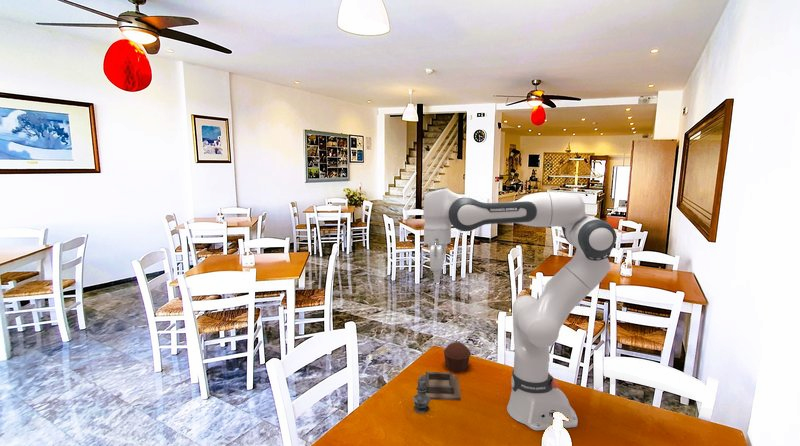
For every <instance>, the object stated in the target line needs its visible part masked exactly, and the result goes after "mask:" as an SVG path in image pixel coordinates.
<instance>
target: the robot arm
mask: <svg viewBox="0 0 800 446" xmlns="http://www.w3.org/2000/svg"><path fill="white" fill-rule="evenodd" d="M423 198H424V199H423V218H424V226H423V244H426V245H427V248H428V249H429V268H430V271H432V273H433V279H434V280H433V282H434V284H439V283H440V282H441V277H442V275H443V274H442V271H443V267H444V262H445V258H446V249H448V245H449V244H451V243H452V227H453V228H455V229H456V230H458V231H460V232H470V231H474V230H477V229H478V228H480V227H482V226H484V225H492V224H494V225H495V224H496V225H497V224H520V225H523V226H527V227H528V226H529V227H535V228H550V227H552V228H553V227H554V228H555V227H560V228H561V231H562V234H563V236H564V239H565V240H566V241H567V243H568V244H570V245H572V246H573V247H574V248H576V249H575V253H574V255H573V256H572V258H571V260H569V261H567V263H566V264H564V266H562V267H561V268H560V270H559V271H557V272H556V273H555V274H554V275H553V276H552V277H551V278H549V280H547V282H546V284H545V286H544V289H543V290H542V293H541V294H540V296H539V297H538V298H536V297H535V296H532V295H527V294H526V295H521V296H519V297H517V298H516V299H515V300H514V301H513V304H512V328H513V329H512V330H513V345H514V358H513V359H514V360H513V369H512V371H511V372H512V373H511V383H510V384H511V392H510V397H509V399H508V400H509V401H508V404H507V406H506V410H507V413H508V415H509V416H510V417H511V418H512V419H513V420H515V421H517V422H519V423H521V424H523V425H526V426H527V427H528V428H530V429H531V430H533V431H547V430H546V429H547V427H549V426H550V425H551V424H552V422H553V413H554V412H560V413H562V414H564V415H565V416H566V417H568V419H569V420H570V421H563V426H564V427H565V428H564V429H567V428H568V429H569V428H576V427H578V425H579V423H578V421H579V419H578V415H577V414H576V411H575V410H574V409H573V407H572V406H571V405H570V402H569V399H568V398H567V395H566V394H565V393H564V392H563V391H562V390H561V389H560V388H559V387H560V385H559V383H558V381H556V380H555V379H554V376H553V375H552V374H551V373H550V372H549V368H550V367H549V366H550V351H549V347H551V346H552V345H554V344H555V343H556V342H557V340H558V338H559V335H560V330H561V328H562V326H563V324H564V323H565V321H566V320H567V318H568V317H569V315H570V314H571V313H572V311H573V310H574V309H575V307H577V305H578V304H580V303H581V301H583V300H584V299H585V298H586V297H587V296H588V295H589V294H590V293H591V292H592V291H593V290H594V289H596V287H597V286H598V285H599V284H600V283H601V282H602V281H603V280H604V278H605V277H606V276H607V274H608V273H609V271H610V270H611V263H610V260H609V258H608V257H610V255H611V253H612V250H613V249H614V247H615V245H616V242H617V232H616V230H615V228H614V227H613V226H612V225H611V224H610V223H609V222H608V221H605V220H603V219H601V218H597V217H595V216H590V215H588V214H587V213H586V211H585V210H586V206H585V202H584V200H583V198H582V197H581V196H579V195H578V194H576V193H569V192H561V191H560V192H559V191H549V192H548V191H546V192H545V191H544V192H543V191H542V192H535V193H531V194H525V195H524V196H522V197H521V198H519V199H517V200H513V201H504V202H481V201H480V200H477V199H474V198H471V197H466V196H463V195H460V194H458V193H455V192H454V191H452V190H451V189H449V188H448V187H440V188H435V189H430V190H428V191H427V192H426V193H425V195H424V197H423Z"/></svg>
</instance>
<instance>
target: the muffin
mask: <svg viewBox="0 0 800 446" xmlns="http://www.w3.org/2000/svg"><path fill="white" fill-rule="evenodd" d="M443 355H444V361H445V367H446V368H447V369H448V371H450V372H452V373H463V372H467V369H468V367H469V363H470V358H471V355H472V353H471V351H470V348H468V346H466V345H465V344H464V343H461V342H459V341H458V342H456V341H455V342H451V343H449V344H448V345H446V347H445V348H444V350H443Z"/></svg>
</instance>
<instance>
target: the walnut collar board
mask: <svg viewBox="0 0 800 446" xmlns="http://www.w3.org/2000/svg"><path fill="white" fill-rule="evenodd" d="M421 377H423V379H425V380H426V388H427V390H426V395H427V396H428V397H429V398H430V400H436V401H437V400H439V401H462V396H461V389H460V383H459V377H458V375H453V372H447V371H446V372H445V371H444V372H442V371H439V372H438V371H425V374H419V379H420V378H421Z"/></svg>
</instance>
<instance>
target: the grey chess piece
mask: <svg viewBox="0 0 800 446" xmlns="http://www.w3.org/2000/svg"><path fill="white" fill-rule="evenodd" d="M415 390H416V391H417V392H416V393H417V394H415V395H414V396H413V398H412V400H413V403H414V407H413V410H414V411H415V412H416V413H418V414H425V413H428V412H429V410H430V407H429V406H428V405H429V403H431V402H430V401H431V399H430V398H429V397H428V396H427V395H426V390H427V388H426V380H425V379H423V377H421V378H420V377H419V378H418V379H417V387H416V389H415Z"/></svg>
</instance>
